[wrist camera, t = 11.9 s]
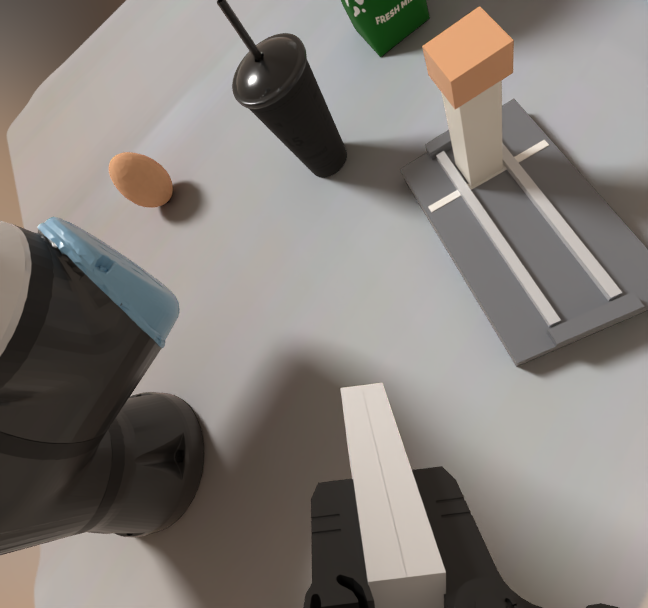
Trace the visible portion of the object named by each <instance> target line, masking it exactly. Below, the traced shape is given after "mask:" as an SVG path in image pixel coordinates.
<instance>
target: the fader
mask: <svg viewBox="0 0 648 608" xmlns="http://www.w3.org/2000/svg"><path fill="white" fill-rule="evenodd" d="M513 46H514V40H513V39H512V38H511V37H510V36H509V35H508V34H507V33H506V32H505V31H504V30H503V29H502V28H501V27H500V26H499V25H498V24H497V23H496V22H495V21H494V20H493V19H492V18H491V17H490V16H489V15H488V14H487V13H486V12H485V11H484V10H483V9H482V8H481V7H480V6H479V7H477V8H476V9H475V10H473V11H472V12H470V13H469V14H468V15H466V16H465V17H463V18H462V19H460V20H459V21H458V22H456V23H455V24H453V25H452V26H450V27H449V28H448V29H446V30H445V31H443V32H442V33H440V34H439V35H438V36H436V37H435V38H433V39H432V40H430V41H429V42H428V43H426V44H425V45H423V46H422V48H423V52H424V57H425V61H426V66H427V70H428V75H429V76H430V77H431V79H432V80H433V81H434V83H435V84H436V85H437V87H438V88H439V89H440V91H441V92H442V97H443V102H444V107H445V112H446V117H447V123H448V128H449V133H450V138H451V143H452V148H453V153H454V159H455V164H456V166H457V167H458V169H459V170H460V172H461V173H462V174H463V176H464V177H465V179H466V180H467V182H468V183H469V185H470V186H471V187H472V186H474V185H475V184H477V183H479V182H481V181H482V180H484V179H486V178H488V177H489V176H491V175H493V174H495V173H496V172H498V171H500V170H502V169H503V157H502V80H503V79H504V78H506V77H507V76H509V75H510V74H512V73H513Z"/></svg>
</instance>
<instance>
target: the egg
mask: <svg viewBox="0 0 648 608" xmlns="http://www.w3.org/2000/svg"><path fill="white" fill-rule="evenodd" d="M109 173H110V177H111V179H112V181H113V183H114V185H115V186H116V188H117V189H118V190H119V191H120V193H121V194H122V195H123V196H125V197H126V198H127V199H129V200H130V201H132V202H133V203H135V204H137V205H140V206H143V207H158V206H162V205H164V204H165V203H167V202H168V201H169V199H170V198H171V196H172V192H173V187H172V181H171V179H170V176H169V174H168V173H167V171H166V170H165V169H164V168H163V167H162V166H161V165H160V164H159V163H157V162H156V161H154V160H153V159H151V158H149V157H147V156H145V155H141V154H137V153H130V152H126V153H121V154H118V155H116V156H114V157H113V158H112V159H111V161H110V164H109Z"/></svg>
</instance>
